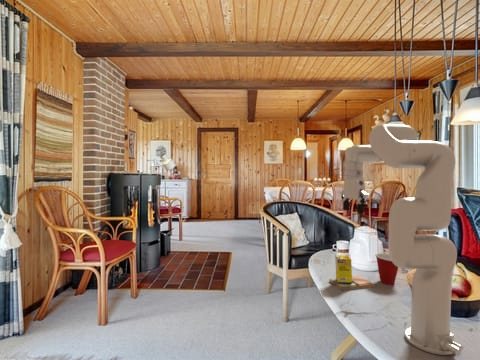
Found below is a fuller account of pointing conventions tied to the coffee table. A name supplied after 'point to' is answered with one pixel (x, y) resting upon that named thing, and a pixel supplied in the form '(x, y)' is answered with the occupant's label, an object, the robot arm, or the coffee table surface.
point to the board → (353, 283)
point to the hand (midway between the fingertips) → (353, 211)
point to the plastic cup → (386, 269)
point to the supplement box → (343, 269)
